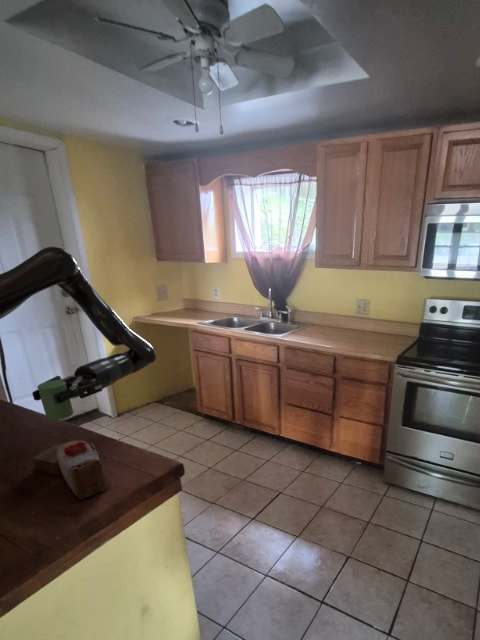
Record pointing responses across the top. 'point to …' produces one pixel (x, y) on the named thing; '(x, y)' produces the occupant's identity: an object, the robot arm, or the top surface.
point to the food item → (81, 468)
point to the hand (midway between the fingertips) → (45, 398)
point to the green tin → (48, 401)
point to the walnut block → (48, 461)
